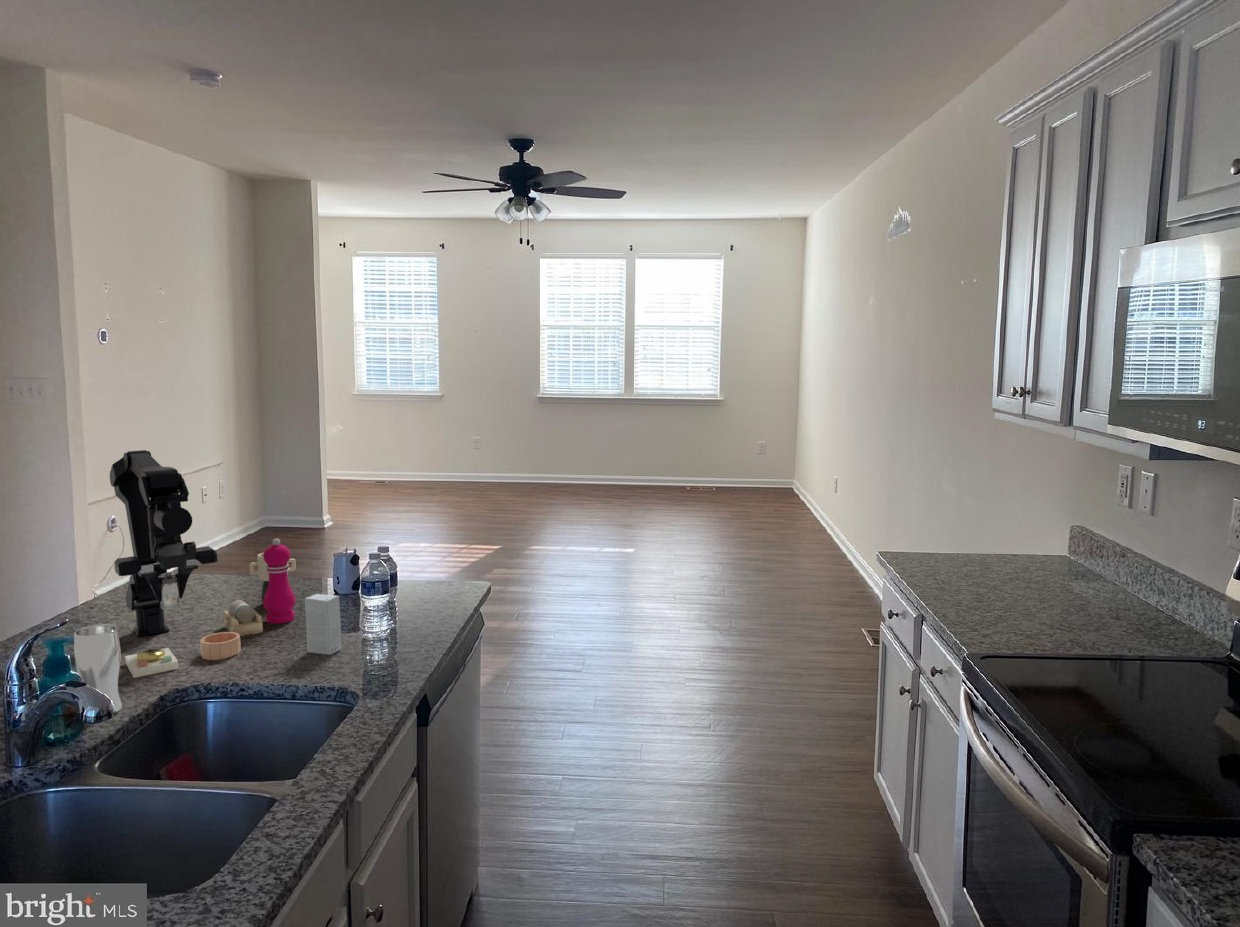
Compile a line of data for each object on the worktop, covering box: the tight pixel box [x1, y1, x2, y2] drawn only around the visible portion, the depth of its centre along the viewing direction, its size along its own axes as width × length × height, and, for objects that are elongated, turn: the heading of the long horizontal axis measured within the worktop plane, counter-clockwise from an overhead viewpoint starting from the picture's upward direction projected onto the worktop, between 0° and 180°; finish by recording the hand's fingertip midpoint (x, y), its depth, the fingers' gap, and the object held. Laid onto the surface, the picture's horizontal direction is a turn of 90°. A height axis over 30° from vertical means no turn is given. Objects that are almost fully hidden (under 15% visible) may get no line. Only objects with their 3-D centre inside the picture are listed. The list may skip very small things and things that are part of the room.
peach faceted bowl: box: [199, 631, 242, 661], centre depth 181 cm, size 8×8×4 cm
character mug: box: [249, 552, 297, 603], centre depth 216 cm, size 11×7×13 cm, turn 116°
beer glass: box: [73, 623, 123, 713], centre depth 151 cm, size 7×7×15 cm
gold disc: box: [136, 648, 165, 661], centre depth 173 cm, size 5×5×1 cm
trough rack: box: [223, 599, 264, 637], centre depth 196 cm, size 10×6×6 cm, turn 38°
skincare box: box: [304, 593, 343, 656], centre depth 182 cm, size 6×4×12 cm
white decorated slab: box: [124, 647, 180, 679], centre depth 174 cm, size 10×8×2 cm
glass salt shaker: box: [158, 571, 182, 611], centre depth 181 cm, size 4×4×8 cm
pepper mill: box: [262, 538, 296, 625], centre depth 202 cm, size 7×7×20 cm
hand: (169, 600), depth 181 cm, fingers closed on glass salt shaker, 4 cm apart
